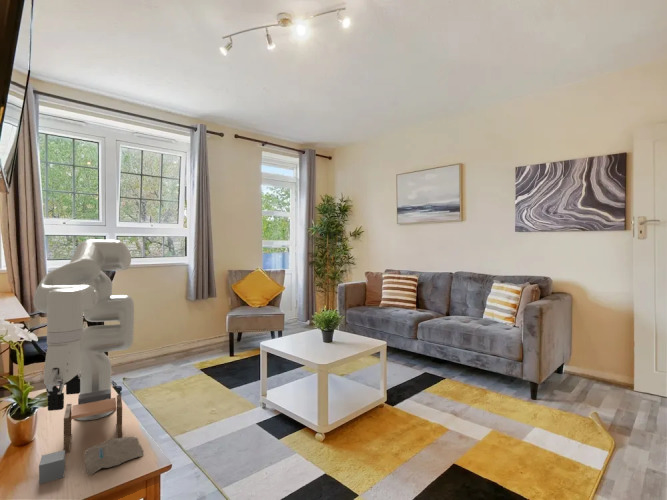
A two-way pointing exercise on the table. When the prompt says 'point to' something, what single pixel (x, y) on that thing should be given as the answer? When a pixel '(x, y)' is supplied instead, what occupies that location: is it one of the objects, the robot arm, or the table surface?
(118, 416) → the frame
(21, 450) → the table surface
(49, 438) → the table surface
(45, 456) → the slate block
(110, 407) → the trapdoor
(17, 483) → the table surface
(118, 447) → the concrete fragment
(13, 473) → the table surface
